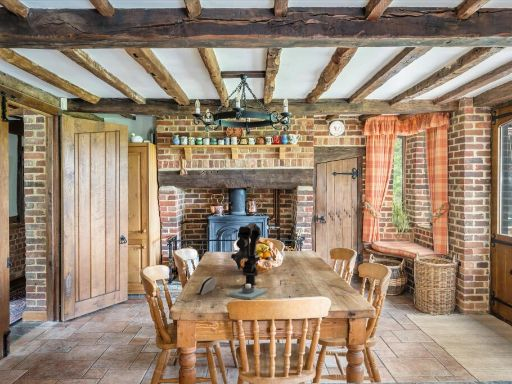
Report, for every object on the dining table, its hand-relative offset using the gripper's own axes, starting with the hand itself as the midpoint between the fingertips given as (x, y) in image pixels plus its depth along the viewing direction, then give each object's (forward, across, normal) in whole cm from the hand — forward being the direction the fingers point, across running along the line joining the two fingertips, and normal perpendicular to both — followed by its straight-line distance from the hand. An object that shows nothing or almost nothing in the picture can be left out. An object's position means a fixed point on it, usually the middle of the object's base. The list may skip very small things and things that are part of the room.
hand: (245, 270), depth 259 cm
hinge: (+12, -18, -17) cm, 27 cm away
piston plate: (+12, +8, -9) cm, 17 cm away
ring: (+10, +8, -9) cm, 16 cm away
